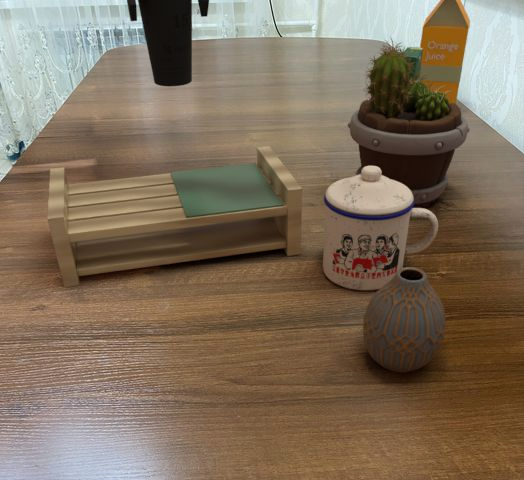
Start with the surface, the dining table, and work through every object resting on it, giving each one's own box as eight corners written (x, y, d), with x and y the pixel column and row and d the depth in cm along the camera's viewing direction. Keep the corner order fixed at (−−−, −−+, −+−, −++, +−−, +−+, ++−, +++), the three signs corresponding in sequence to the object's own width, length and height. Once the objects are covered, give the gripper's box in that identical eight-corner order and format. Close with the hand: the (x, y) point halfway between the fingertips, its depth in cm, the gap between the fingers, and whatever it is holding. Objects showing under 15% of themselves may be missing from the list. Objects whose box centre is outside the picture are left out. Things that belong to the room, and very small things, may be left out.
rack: (64, 230, 76) (50, 168, 71) (269, 205, 81) (269, 146, 76) (64, 287, 65) (47, 218, 60) (300, 254, 70) (302, 188, 65)
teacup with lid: (322, 293, 64) (328, 186, 56) (318, 251, 71) (323, 152, 64) (438, 293, 63) (458, 186, 56) (422, 251, 70) (438, 151, 63)
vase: (362, 332, 58) (371, 250, 53) (437, 340, 57) (453, 257, 51) (356, 378, 53) (365, 292, 47) (438, 388, 51) (457, 300, 46)
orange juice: (410, 114, 112) (426, -11, 100) (414, 101, 118) (429, -18, 106) (454, 117, 110) (476, -10, 98) (455, 104, 117) (476, -17, 104)
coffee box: (397, 127, 106) (406, 45, 98) (413, 128, 105) (424, 45, 97) (388, 142, 100) (398, 55, 92) (406, 144, 99) (417, 56, 91)
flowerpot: (424, 170, 90) (447, 18, 78) (475, 213, 78) (511, 42, 66) (330, 180, 88) (338, 25, 76) (367, 226, 76) (384, 51, 64)
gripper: (42, -194, 68) (75, -8, 65) (222, -193, 72) (260, -18, 69) (53, -132, 75) (83, 37, 72) (216, -134, 79) (250, 26, 76)
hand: (169, 10), depth 71 cm, fingers closed on drinking cup, 8 cm apart
